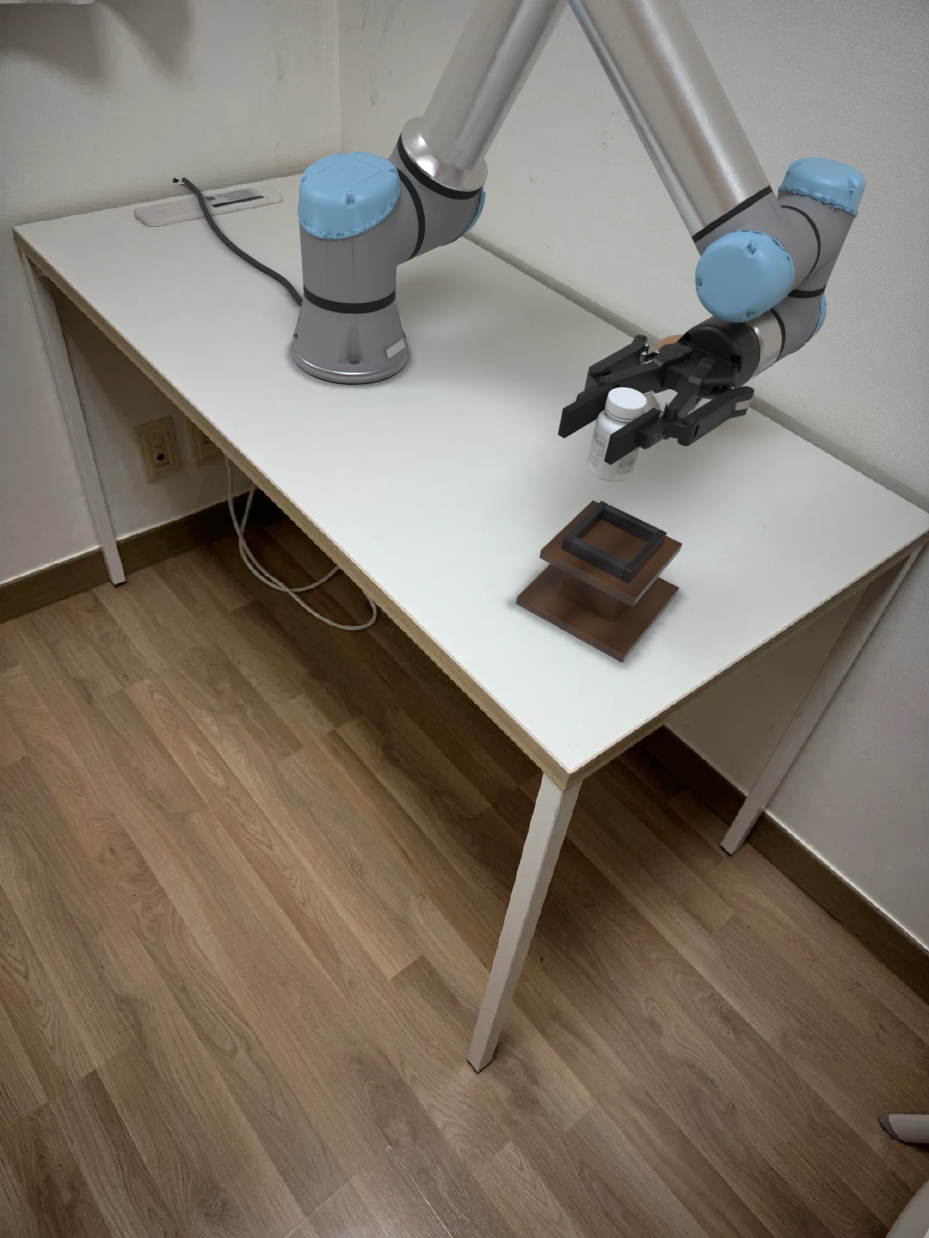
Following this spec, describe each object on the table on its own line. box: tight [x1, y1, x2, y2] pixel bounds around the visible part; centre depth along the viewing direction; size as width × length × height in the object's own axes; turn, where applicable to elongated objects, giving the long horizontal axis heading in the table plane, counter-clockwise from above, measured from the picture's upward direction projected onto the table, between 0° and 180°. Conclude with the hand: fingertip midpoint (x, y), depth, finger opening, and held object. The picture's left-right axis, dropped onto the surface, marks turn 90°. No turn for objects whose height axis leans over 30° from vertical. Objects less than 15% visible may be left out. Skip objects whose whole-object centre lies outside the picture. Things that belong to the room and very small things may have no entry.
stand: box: [515, 500, 683, 663], centre depth 81 cm, size 12×12×8 cm
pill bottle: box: [586, 387, 648, 483], centre depth 76 cm, size 4×4×8 cm
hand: (587, 436), depth 72 cm, fingers closed on pill bottle, 4 cm apart
